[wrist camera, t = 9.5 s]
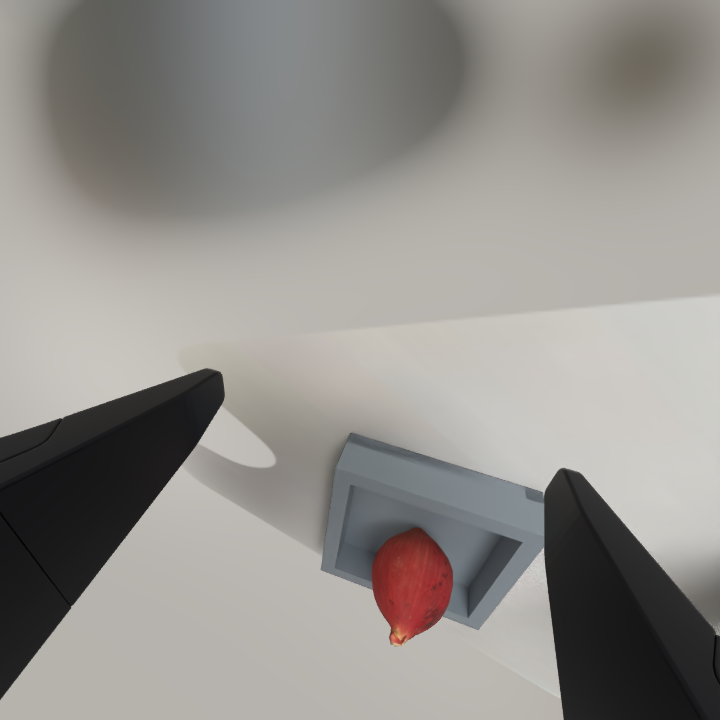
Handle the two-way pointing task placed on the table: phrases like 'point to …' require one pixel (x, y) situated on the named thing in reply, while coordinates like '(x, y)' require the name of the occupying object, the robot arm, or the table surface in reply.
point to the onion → (411, 583)
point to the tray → (432, 522)
